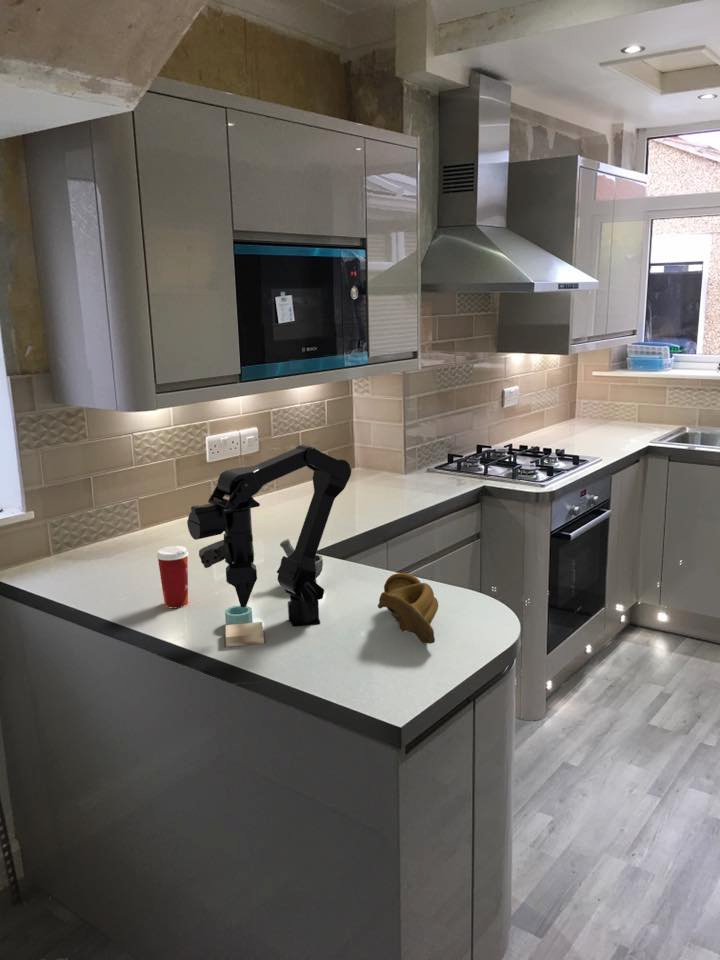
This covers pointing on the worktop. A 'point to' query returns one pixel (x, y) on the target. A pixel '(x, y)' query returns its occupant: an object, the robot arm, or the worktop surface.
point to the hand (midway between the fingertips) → (242, 598)
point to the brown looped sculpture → (410, 605)
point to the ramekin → (238, 615)
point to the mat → (243, 645)
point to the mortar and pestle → (290, 550)
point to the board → (244, 634)
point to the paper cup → (174, 575)
